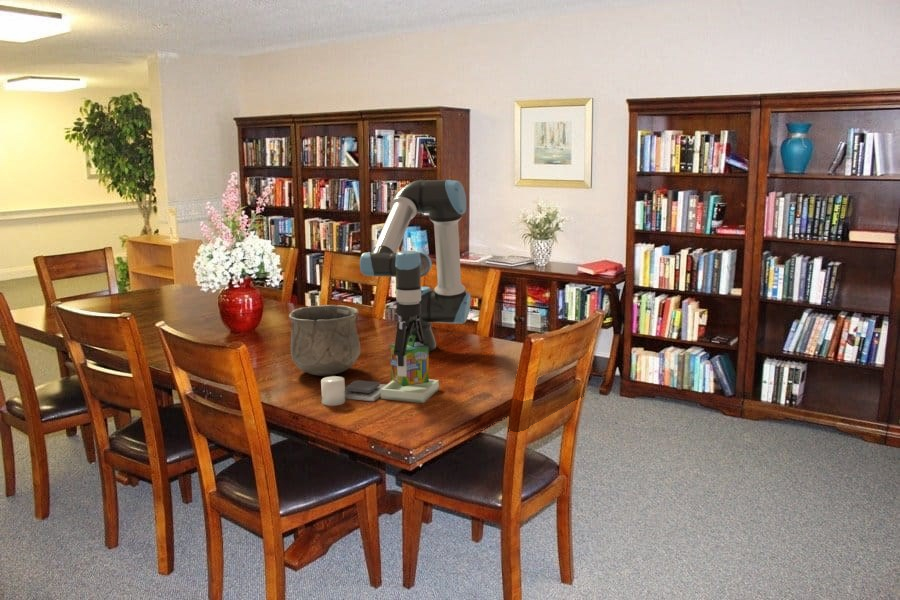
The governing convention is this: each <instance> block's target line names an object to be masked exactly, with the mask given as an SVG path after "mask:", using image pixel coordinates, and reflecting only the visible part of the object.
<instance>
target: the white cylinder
mask: <svg viewBox="0 0 900 600" xmlns="http://www.w3.org/2000/svg"><path fill="white" fill-rule="evenodd" d="M320 386H321V389H320V391H321V404H322V405H324V406H328V407H331V406H332V407H333V406H340V405H343V404H345V403H346V398H345V386H346V384H345V377H343V376H336V375H330V376H324V377H323V378H322V379H320Z"/></svg>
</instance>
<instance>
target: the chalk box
mask: <svg viewBox="0 0 900 600" xmlns="http://www.w3.org/2000/svg"><path fill="white" fill-rule="evenodd" d="M410 338H412V339H413V341H412V342H410ZM415 340H416V336H415V335H412V334H411V335H410V336H409V339H408V343H407V348H406V352H405V355H406V363H407V376H406V377H404V376H397V355H394V348H395V343H391V344H390V380H391V381H392V380H394V381H395V382H397V383H399V384H400V385H402V386H403V387H404V386H409V385H415V384H421V383H428V382H429V379H430V378H429V376H430V375H429V366H430V364H429V363H430V362H429V361H430V360H429V359H430V358H429V357H430V356H429V355H430V351H429V348H428V346H426V345H424V344H422V343H420V342H418V341H415Z"/></svg>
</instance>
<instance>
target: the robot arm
mask: <svg viewBox="0 0 900 600" xmlns="http://www.w3.org/2000/svg"><path fill="white" fill-rule="evenodd" d="M389 209H390V211H389V214H388V215H387V218H386V219H385V222H384V224H383V227H382V228H381V231H380V234H379V236H378V238H377V240H376V243H375V244H374V247H373V249H372V250H371V252H370V251H368V252H363V253H362V254H361V256H360V258H359V270H360V273H361V274H362V275H363V276H368V277H369V276H370V277H375V278H376V277H386V278H387V277H389V278H394V277H395V285H396V286H395V291H394V293H395V295H396V302H397V303H396V304H395V305H396V315H397V316H398V317H399V320H400V321H398V322H397V323H396V333H395V334H396V336H395V341H394V344H395V348H394V355H397V376H404V377H406V376H407V363H406V355H405V352H406V348H407V343H408V339H409V336H410V335H411V334H412V335H415V336H416V340H415V341H418V342H420V343H422V344H424V345H426V346H428V348H429V352H432V351H434V350H436V348H437V343H436V339H435V336H434V333H433V330H432V323H438V324H439V323H440V324H453V325H455V324H464V323H466V322H467V320H468V318H469V314H470V310H471V302H472V296H471V293H470V292H468V291H467V289H466V286H465V285H464V284H462V278H461V277H462V276H461V275H462V273H461V256H460V255H461V254H460V253H461V252H460V236H459V235H460V234H459V233H460V232H459V221H460V220H461V219H462V218H463V214H465V213H466V212H467V196H466V192H465V188H464V186H463V184H462V183H461V182H460V181H459V180H451V179H426V180H425V179H418V180H413V181H412V182H409V183H408V184H406V185H404V186H403V187H402V188H401V189H399V190H398V191H397V192H396V194H395V195H394V196H393V198H392V199H391V202H390V204H389ZM417 214H428V216H429V221H431V222H432V223H433V228H434V241H435V242H434V244H435V245H434V246H435V258H436V259H435V263H436V273H437V275H436V276H437V284H436V286H435V287H434V289H433V291H432V289H431V287H430V286H422V285H421V284H422V283H421V281H422V278H424V277H425V276H426V275H428V273H429V272H430V271H431V269H432V267H433V263H432V259H431V257H430V256H429V255H428V254H427V253H426V252H423V251H422V252H419V251H416V250H403V251H398V250H399V248H400V246H401V243H402V241H403V238H404V236H405V234H406V232H407V228H408V227H409V225H410V223H411V220H413V218H415V217H416V215H417ZM412 341H413V339H412V338H410V342H412Z"/></svg>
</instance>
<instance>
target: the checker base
mask: <svg viewBox="0 0 900 600" xmlns="http://www.w3.org/2000/svg"><path fill="white" fill-rule="evenodd" d="M353 382H355V380H354V381H351V382H349V383H348V384H347V385H345V400H347V399H349V400H358V401H367V402H368V401H369V402H375V401H376V400H378V399H379V398H381V389H382V388H383V387H384V386H386V385H387V384H385V383H380V386H378V387H377V388H376V389H374V390H373V391H372V392H370V393H364V392H354V391H346V387H347V386H349V385H350V384H352V383H353Z"/></svg>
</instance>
